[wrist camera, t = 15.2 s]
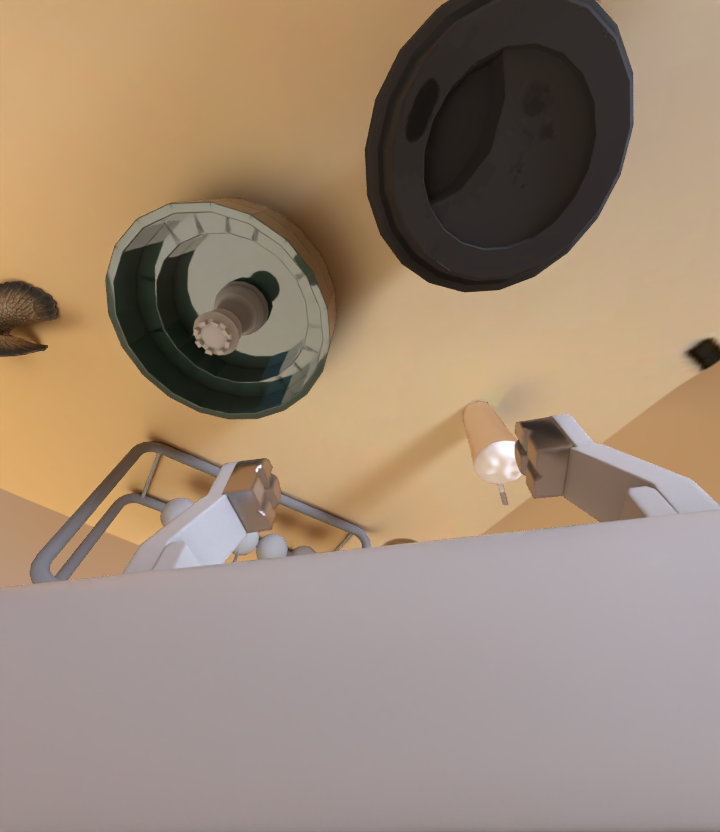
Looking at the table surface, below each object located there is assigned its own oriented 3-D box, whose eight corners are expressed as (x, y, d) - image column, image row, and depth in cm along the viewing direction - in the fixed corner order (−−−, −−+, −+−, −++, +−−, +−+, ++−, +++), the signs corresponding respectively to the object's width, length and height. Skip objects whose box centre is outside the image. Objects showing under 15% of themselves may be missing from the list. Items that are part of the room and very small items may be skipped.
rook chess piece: (230, 334, 34) (195, 372, 27) (210, 285, 31) (167, 313, 25) (276, 326, 33) (252, 362, 26) (260, 275, 31) (229, 301, 24)
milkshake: (455, 439, 40) (478, 507, 32) (455, 397, 37) (480, 460, 29) (498, 435, 40) (532, 502, 31) (501, 392, 37) (540, 454, 28)
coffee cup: (409, 29, 23) (458, -158, 10) (556, 118, 25) (743, 53, 13) (343, 217, 29) (323, 243, 16) (467, 276, 31) (536, 340, 18)
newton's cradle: (372, 530, 49) (373, 686, 34) (334, 571, 53) (320, 722, 38) (143, 433, 41) (12, 578, 26) (124, 491, 46) (4, 642, 31)
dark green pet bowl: (149, 168, 27) (94, 164, 22) (357, 235, 30) (354, 247, 24) (153, 360, 36) (114, 392, 30) (314, 401, 38) (305, 438, 32)
